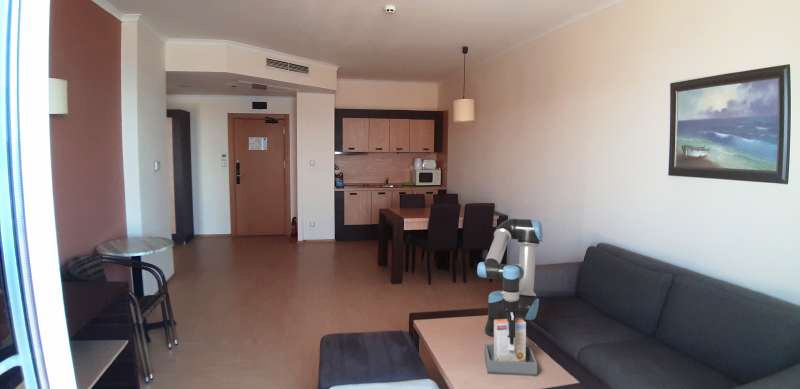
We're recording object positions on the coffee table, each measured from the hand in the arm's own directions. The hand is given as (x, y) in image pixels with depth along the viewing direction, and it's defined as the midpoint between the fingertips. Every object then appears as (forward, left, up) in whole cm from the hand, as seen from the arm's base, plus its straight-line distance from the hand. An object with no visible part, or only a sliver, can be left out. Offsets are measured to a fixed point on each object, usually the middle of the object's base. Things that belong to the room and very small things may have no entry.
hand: (509, 345), depth 209 cm
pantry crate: (0, 0, -10) cm, 10 cm away
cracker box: (0, 0, -9) cm, 9 cm away
